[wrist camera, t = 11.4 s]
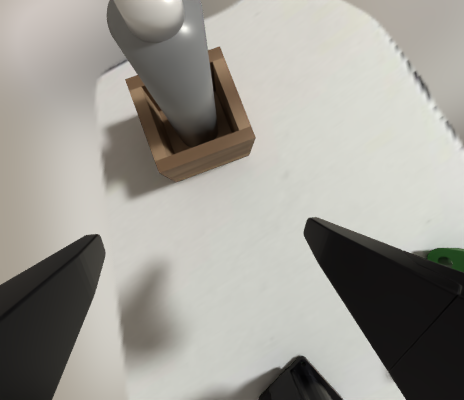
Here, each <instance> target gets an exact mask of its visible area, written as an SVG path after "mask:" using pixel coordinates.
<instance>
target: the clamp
mask: <svg viewBox="0 0 464 400" xmlns="http://www.w3.org/2000/svg"><path fill="white" fill-rule="evenodd" d="M427 260H430V261H433V262H435V263H438V264H441V265H444V266H447V267H450V268H452V269H455V270H458V271H461V272H464V249H460V248H437V249H434V250H432V251H430V253H429V254H428V257H427ZM451 261H452V262H451ZM452 263H453V264H452Z"/></svg>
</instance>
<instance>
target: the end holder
mask: <svg viewBox="0 0 464 400" xmlns="http://www.w3.org/2000/svg"><path fill="white" fill-rule="evenodd" d="M208 55H209V62H210V70H211V78H212V85H213V93H214V100H215V108H216V115H217V123H218V134H217V137H216V139H214V140H212V141H209V142H206V143H204V144H201V145H198V146H195V147H193V148H192V147H189V146H187V145H186V144H185V143H184V142H183V141H182V140H181V138H180V137H179V135H178V134H177V133H176V131H175V130H174V128H173V127H172V125H171V124H170V122H169V121H168V119H167V118H166V116H165V115H164V113H163V112H162V110H161V109H160V107H159V106H158V104H157V103H156V101H155V100H154V98H153V97H152V95H151V94H150V92H149V91H148V89H147V88H146V86H145V85H144V83H143V82H142V80H141V79H140V77H139V76H138V75H137V76H134V77H131V78H128V79H125V80H126V83H127V86H128V89H129V91H130V94H131V97H132V100H133V102H134V105H135V108H136V111H137V113H138V116H139V119H140V122H141V124H142V127H143V130H144V133H145V135H146V138H147V141H148V144H149V146H150V149H151V152H152V154H153V157H154V160H155V163H156V165H157V168H158V171H159V173H160V174H162V175H164V176H166V177H168V178H169V179H171V180H173V181H175V182H178V181H181V180H183V179H186V178H189V177H192V176H194V175H197V174H200V173H202V172H205V171H208V170H210V169H213V168H216V167H218V166H221V165H224V164H227V163H229V162H232V161H235V160H237V159H240V158H243V157H245V156H248V155H249V154H250V151H251V149H252V146H253V143H254V140H255V138H256V137H255V135H254V132H253V130H252V127H251V125H250V122H249V120H248V117H247V115H246V112H245V109H244V107H243V104H242V102H241V99H240V97H239V94H238V92H237V89H236V87H235V84H234V81H233V79H232V76H231V74H230V71H229V69H228V66H227V64H226V61H225V59H224V56H223V54H222V51H221V48H220V47H217V48H214V49H211V50H208Z"/></svg>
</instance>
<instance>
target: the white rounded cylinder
mask: <svg viewBox="0 0 464 400" xmlns="http://www.w3.org/2000/svg"><path fill="white" fill-rule="evenodd" d="M107 23H108V27H109V30H110V33H111V35H112V37H113V38H114V40H115V41H116V43H117V44H118V46H119V47H120V49H121V50H122V52H123V53H124V55H125V56H126V58H127V59H128V61H129V62H130V64H131V65H132V67H133V68H134V70H135V71H136V73H137V74H138V76H139V77H140V79H141V80H142V82H143V83H144V85H145V86H146V88H147V89H148V91H149V92H150V94H151V95H152V97H153V98H154V100H155V101H156V103H157V104H158V106H159V107H160V109H161V110H162V112H163V113H164V115H165V116H166V118H167V119H168V121H169V122H170V124H171V125H172V127H173V128H174V130H175V131H176V133H177V134H178V135H179V137H180V138H181V140H182V141H183V142H184V143H185V144H186V145H187V146H189V147H192V148H193V147H195V146H198V145H201V144H204V143H206V142H209V141H212V140H214V139H216V137H217V134H218V123H217V115H216V108H215V100H214V93H213V85H212V78H211V70H210V62H209V55H208V47H207V40H206V32H205V25H204V17H203V10H202V5H201V1H200V0H110V1H109V4H108V8H107Z"/></svg>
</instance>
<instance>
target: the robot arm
mask: <svg viewBox="0 0 464 400" xmlns="http://www.w3.org/2000/svg"><path fill="white" fill-rule="evenodd" d="M304 237H305V239H306V241H307V243H308V245H309V247H310V249H311V250H312V252H313V254H314V256H315V258H316V260H317V262H318V264H319V265H320V267H321V268H322V270H323V271H324V273H325V275H326V276H327V278H328V279H329V281H330V282H331V284H332V285H333V287H334V289H335V290H336V292H337V293H338V295H339V296H340V298H341V299H342V301H343V302H344V304H345V306H346V307H347V309H348V310H349V312H350V313H351V315H352V316H353V318H354V319H355V321H356V323H357V324H358V326H359V327H360V329H361V330H362V332H363V333H364V335H365V336H366V338H367V340H368V341H369V343H370V344H371V346H372V347H373V349H374V350H375V352H376V354H377V355H378V357H379V358H380V360H381V361H382V363H383V364H384V366H385V367H386V369H387V370H388V371H389V374H390V375H391V377H392V379H393V380H394V382H395V383H396V385H397V386H398V388H399V389H400V391H401V393H402V394H403V396H404V397H405V399H406V400H464V272H461V271H458V270H455V269H452V268H450V267H447V266H444V265H441V264H438V263H435V262H433V261H430V260H427V259H425V258H422V257H419V256H417V255H414V254H411V253H409V252H406V251H402V250H401V249H398V248H396V247H393V246H390V245H388V244H385V243H383V242H380V241H377V240H375V239H372V238H370V237H367V236H364V235H362V234H359V233H356V232H354V231H351V230H349V229H346V228H343V227H341V226H338V225H336V224H333V223H330V222H328V221H325V220H323V219H320V218H317V217H312V218H308V219H307V222H306V225H305V229H304ZM104 259H105V249H104V245H103V242H102V239H101V237H100V235H98V234H93V235H86V236H84V237H82V238H80V239H79V240H77V241H75V242H73V243H72V244H70V245H68V246H66V247H65V248H63V249H61V250H60V251H58V252H56V253H55V254H53V255H51V256H49V257H48V258H46V259H44V260H42V261H41V262H39V263H37V264H36V265H34V266H32V267H31V268H29V269H27V270H25V271H24V272H22V273H20V274H18V275H17V276H15V277H13V278H12V279H10V280H8V281H6V282H5V283H3V284H1V285H0V400H52V398H53V396H54V393H55V391H56V389H57V386H58V384H59V381H60V379H61V376H62V374H63V371H64V369H65V366H66V364H67V361H68V359H69V356H70V354H71V352H72V349H73V347H74V344H75V342H76V339H77V337H78V334H79V332H80V329H81V327H82V325H83V322H84V320H85V317H86V315H87V312H88V310H89V307H90V305H91V302H92V300H93V297H94V294H95V291H96V288H97V284H98V281H99V277H100V273H101V269H102V266H103V263H104ZM302 362H304V363H303V364H301V363H302ZM259 400H343V398H342V397H341V396H340V395H339V394H338V393H337V392H336V391H335V389H334V388H333V387H332V386H331V385H330V384H329V383H328V382H327V381H326V380H325V378H324V377H323V376H322V375H321V374H320V373H319V372H318V371H317V370H316V369H315V368H314V366H313V365H312V364H311V363H310V362H309V361H308V360H307V359H306V358H305V357H304V356H300V357H299V358H298V359H297V360H296V361H295V362H294V363H293V364H292V365H291V366H290V367H289V368H288V369H287V370H286V371H285V372H284V373H283V374H282V375H281V376H280V377H279V378H278V379H277V380H276V381H275V382H274V383H273V384H272V385H271V386H270V387H269V388H268V389H267V390H266V391H265V392H264V393H263V394H262V395H261V396H260V397H259Z"/></svg>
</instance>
